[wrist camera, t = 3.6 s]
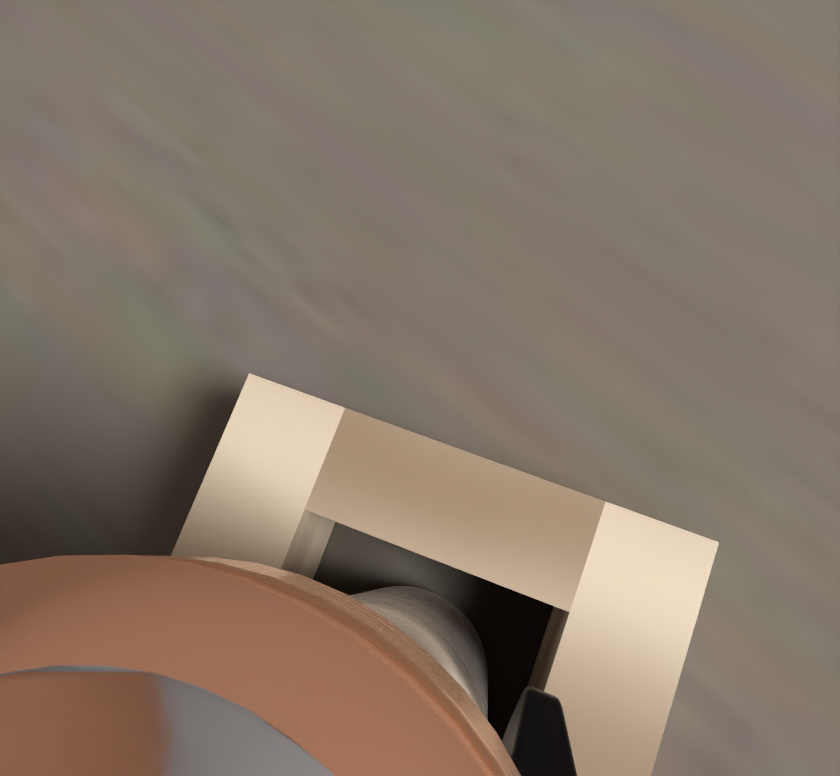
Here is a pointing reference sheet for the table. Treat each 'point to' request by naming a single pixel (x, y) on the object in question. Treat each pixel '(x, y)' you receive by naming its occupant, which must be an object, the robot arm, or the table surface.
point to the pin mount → (471, 551)
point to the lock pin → (234, 674)
